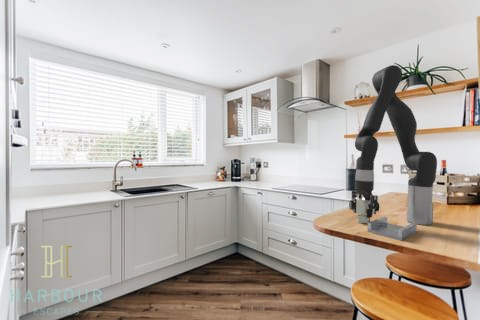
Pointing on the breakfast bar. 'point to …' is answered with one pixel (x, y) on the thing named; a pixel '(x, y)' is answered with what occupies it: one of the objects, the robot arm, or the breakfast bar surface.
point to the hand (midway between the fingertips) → (363, 215)
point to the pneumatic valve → (361, 209)
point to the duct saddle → (391, 229)
